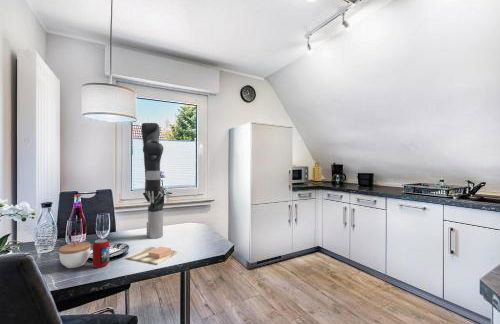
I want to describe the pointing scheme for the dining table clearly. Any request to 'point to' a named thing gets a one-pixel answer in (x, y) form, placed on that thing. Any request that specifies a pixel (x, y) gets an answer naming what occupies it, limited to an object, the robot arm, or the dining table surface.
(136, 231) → the dining table surface
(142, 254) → the striped cloth
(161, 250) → the tile
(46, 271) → the dining table surface
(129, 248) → the dining table surface
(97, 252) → the beverage can
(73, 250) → the lidded bowl
